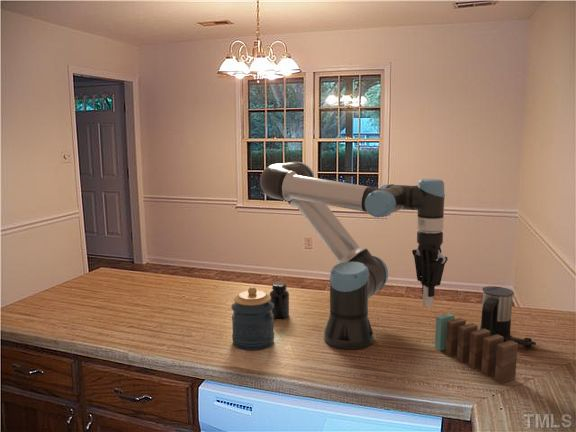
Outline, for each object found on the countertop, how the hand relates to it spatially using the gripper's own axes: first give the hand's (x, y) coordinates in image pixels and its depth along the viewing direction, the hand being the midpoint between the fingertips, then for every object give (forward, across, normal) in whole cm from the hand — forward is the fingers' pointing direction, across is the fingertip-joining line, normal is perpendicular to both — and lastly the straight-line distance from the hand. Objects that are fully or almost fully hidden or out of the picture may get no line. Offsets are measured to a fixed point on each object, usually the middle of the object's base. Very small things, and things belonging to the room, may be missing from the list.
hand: (427, 305), depth 148 cm
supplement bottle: (+10, -37, -33) cm, 51 cm away
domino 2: (+11, +12, 0) cm, 16 cm away
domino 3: (+11, +16, 0) cm, 19 cm away
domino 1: (+11, +8, 0) cm, 13 cm away
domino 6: (+11, +29, 0) cm, 31 cm away
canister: (+10, -22, -49) cm, 55 cm away
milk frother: (+11, +12, +20) cm, 26 cm away
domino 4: (+11, +20, 0) cm, 23 cm away
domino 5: (+11, +25, 0) cm, 27 cm away
